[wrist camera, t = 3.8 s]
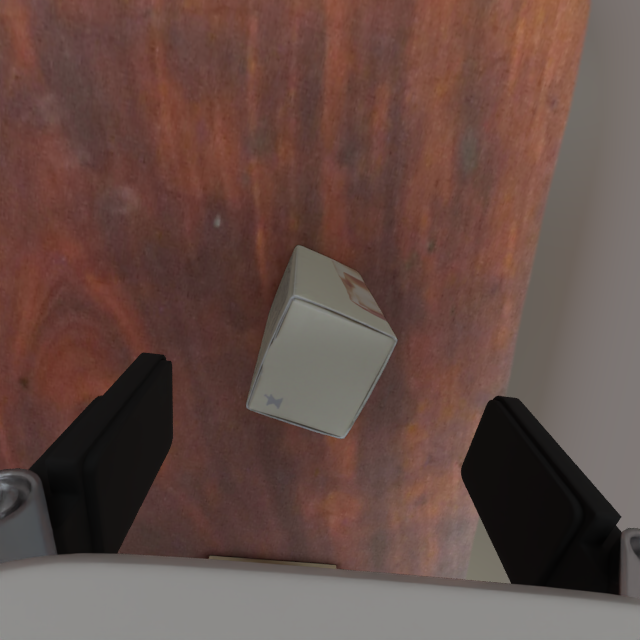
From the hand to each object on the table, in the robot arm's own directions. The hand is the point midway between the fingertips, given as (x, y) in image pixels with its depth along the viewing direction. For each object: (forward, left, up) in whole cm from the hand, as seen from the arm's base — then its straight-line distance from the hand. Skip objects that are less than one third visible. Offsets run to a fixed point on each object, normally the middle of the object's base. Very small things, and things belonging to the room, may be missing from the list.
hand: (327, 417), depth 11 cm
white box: (0, 0, -13) cm, 13 cm away
